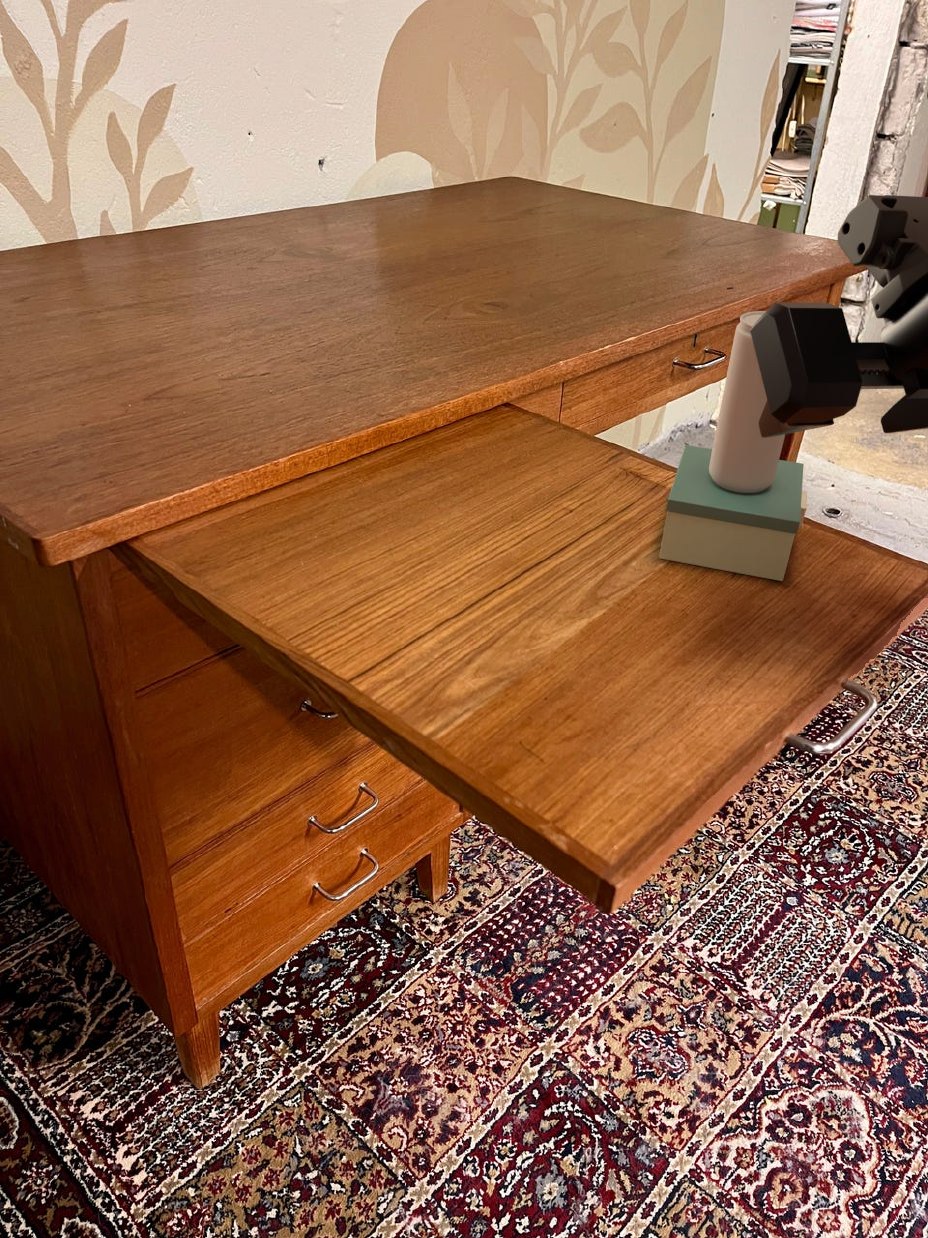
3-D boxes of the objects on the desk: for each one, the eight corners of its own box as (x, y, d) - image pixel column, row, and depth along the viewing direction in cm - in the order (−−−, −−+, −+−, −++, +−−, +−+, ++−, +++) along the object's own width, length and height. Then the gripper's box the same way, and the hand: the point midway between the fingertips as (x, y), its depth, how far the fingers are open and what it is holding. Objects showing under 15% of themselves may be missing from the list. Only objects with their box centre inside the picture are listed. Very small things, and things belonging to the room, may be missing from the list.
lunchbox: (795, 520, 78) (810, 464, 75) (791, 583, 70) (807, 523, 67) (675, 500, 80) (685, 444, 77) (657, 558, 72) (667, 499, 69)
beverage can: (747, 502, 69) (784, 336, 62) (693, 478, 72) (723, 317, 65) (785, 484, 72) (825, 323, 65) (732, 461, 75) (765, 306, 68)
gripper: (1111, 154, 52) (911, 317, 66) (815, 133, 46) (668, 315, 61) (1179, 341, 49) (955, 467, 64) (874, 341, 44) (705, 479, 58)
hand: (824, 428), depth 62 cm, fingers open, 9 cm apart
